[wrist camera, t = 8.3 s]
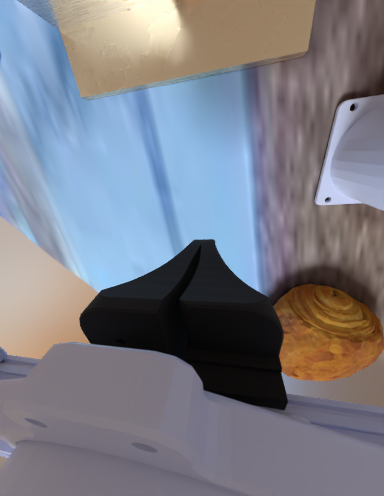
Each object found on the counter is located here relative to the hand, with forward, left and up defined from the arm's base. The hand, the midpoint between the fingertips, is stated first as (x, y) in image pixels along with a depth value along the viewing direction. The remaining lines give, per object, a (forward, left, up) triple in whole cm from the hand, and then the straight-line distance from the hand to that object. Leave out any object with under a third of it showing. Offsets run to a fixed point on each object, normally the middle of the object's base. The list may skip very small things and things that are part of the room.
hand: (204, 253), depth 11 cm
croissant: (-13, +18, -10) cm, 24 cm away
